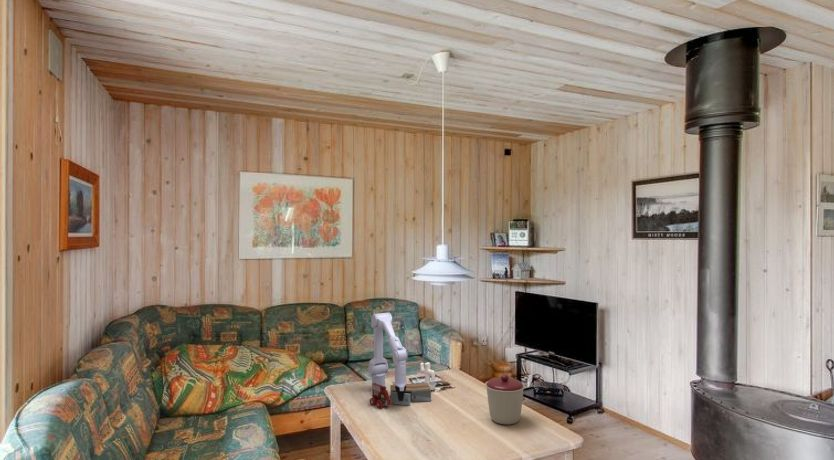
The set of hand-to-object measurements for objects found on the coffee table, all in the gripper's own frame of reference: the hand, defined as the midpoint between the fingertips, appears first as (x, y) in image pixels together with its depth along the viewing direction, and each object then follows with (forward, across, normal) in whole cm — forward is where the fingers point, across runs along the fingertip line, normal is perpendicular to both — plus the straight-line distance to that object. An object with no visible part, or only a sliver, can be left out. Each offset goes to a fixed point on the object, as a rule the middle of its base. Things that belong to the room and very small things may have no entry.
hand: (400, 400), depth 233 cm
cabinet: (+3, -9, +6) cm, 11 cm away
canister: (+3, +25, +46) cm, 52 cm away
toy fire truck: (+3, -2, -10) cm, 11 cm away
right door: (+2, -2, 0) cm, 3 cm away
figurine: (+3, -21, +17) cm, 27 cm away
